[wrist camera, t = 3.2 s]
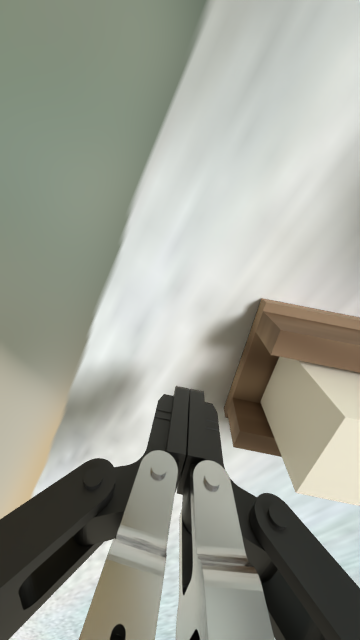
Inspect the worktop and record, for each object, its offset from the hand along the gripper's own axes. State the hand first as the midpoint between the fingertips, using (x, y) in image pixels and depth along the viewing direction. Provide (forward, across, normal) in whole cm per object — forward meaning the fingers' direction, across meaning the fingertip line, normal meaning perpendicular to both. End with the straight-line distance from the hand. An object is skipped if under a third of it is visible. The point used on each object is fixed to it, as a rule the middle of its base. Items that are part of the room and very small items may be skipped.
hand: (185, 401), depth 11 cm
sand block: (+4, -10, 0) cm, 11 cm away
